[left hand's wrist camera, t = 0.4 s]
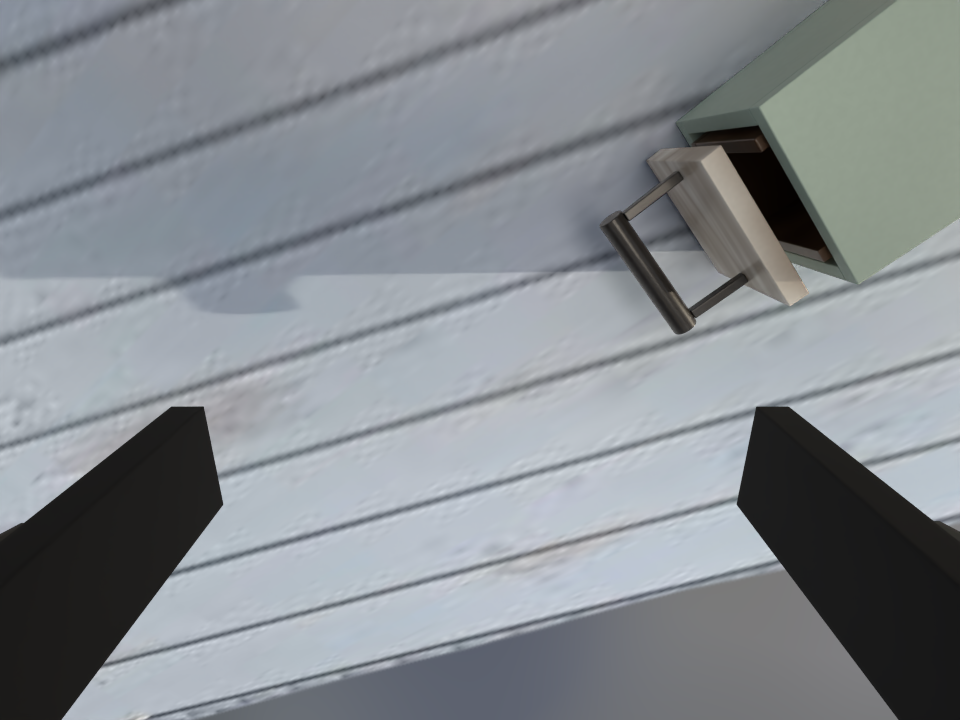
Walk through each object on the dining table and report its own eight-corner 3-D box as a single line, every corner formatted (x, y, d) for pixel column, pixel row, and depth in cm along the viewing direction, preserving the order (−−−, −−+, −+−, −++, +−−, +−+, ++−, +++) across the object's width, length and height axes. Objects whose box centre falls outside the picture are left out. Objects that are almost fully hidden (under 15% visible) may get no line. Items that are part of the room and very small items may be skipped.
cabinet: (754, 250, 38) (858, 285, 27) (675, 122, 35) (758, 106, 24) (1036, 50, 33) (1289, 1, 23) (973, -116, 30) (1230, -259, 20)
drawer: (655, 318, 39) (705, 363, 30) (580, 212, 36) (611, 229, 27) (980, 88, 33) (1153, 63, 25) (919, -56, 31) (1090, -139, 22)
